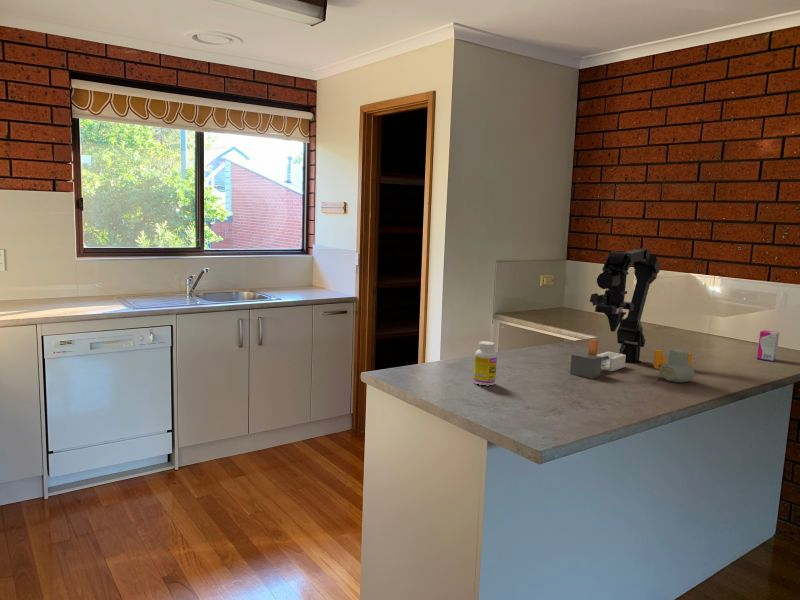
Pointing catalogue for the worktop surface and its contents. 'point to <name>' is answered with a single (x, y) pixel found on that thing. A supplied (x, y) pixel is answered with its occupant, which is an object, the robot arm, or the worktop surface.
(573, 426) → the worktop surface
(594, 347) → the tube
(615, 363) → the open tray
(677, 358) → the air freshener
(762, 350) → the supplement box
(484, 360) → the supplement bottle
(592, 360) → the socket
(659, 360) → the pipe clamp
